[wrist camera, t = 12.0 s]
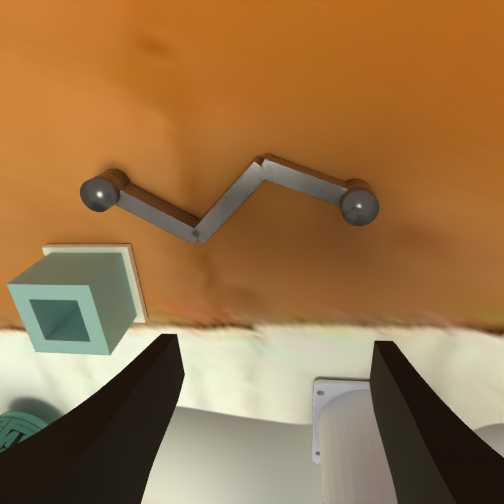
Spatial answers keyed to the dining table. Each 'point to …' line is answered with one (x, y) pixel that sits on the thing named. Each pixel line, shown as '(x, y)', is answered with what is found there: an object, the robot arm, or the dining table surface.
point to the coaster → (128, 263)
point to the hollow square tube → (75, 302)
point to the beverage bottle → (18, 428)
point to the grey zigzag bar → (229, 197)
